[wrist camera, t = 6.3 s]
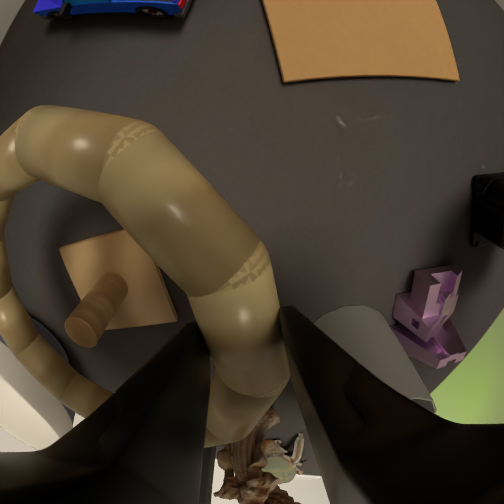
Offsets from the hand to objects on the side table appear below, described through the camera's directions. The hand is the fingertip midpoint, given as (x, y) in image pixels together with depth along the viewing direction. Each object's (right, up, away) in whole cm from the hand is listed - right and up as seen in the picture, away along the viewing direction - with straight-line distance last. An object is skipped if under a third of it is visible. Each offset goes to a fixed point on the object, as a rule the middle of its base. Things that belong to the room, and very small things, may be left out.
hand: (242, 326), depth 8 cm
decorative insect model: (+4, -24, +23) cm, 34 cm away
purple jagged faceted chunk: (+16, -2, +14) cm, 21 cm away
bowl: (-24, -8, +16) cm, 30 cm away
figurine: (0, -14, +19) cm, 24 cm away
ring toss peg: (-10, 0, +13) cm, 16 cm away
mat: (+8, +20, +4) cm, 22 cm away
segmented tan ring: (-7, -1, +2) cm, 7 cm away
